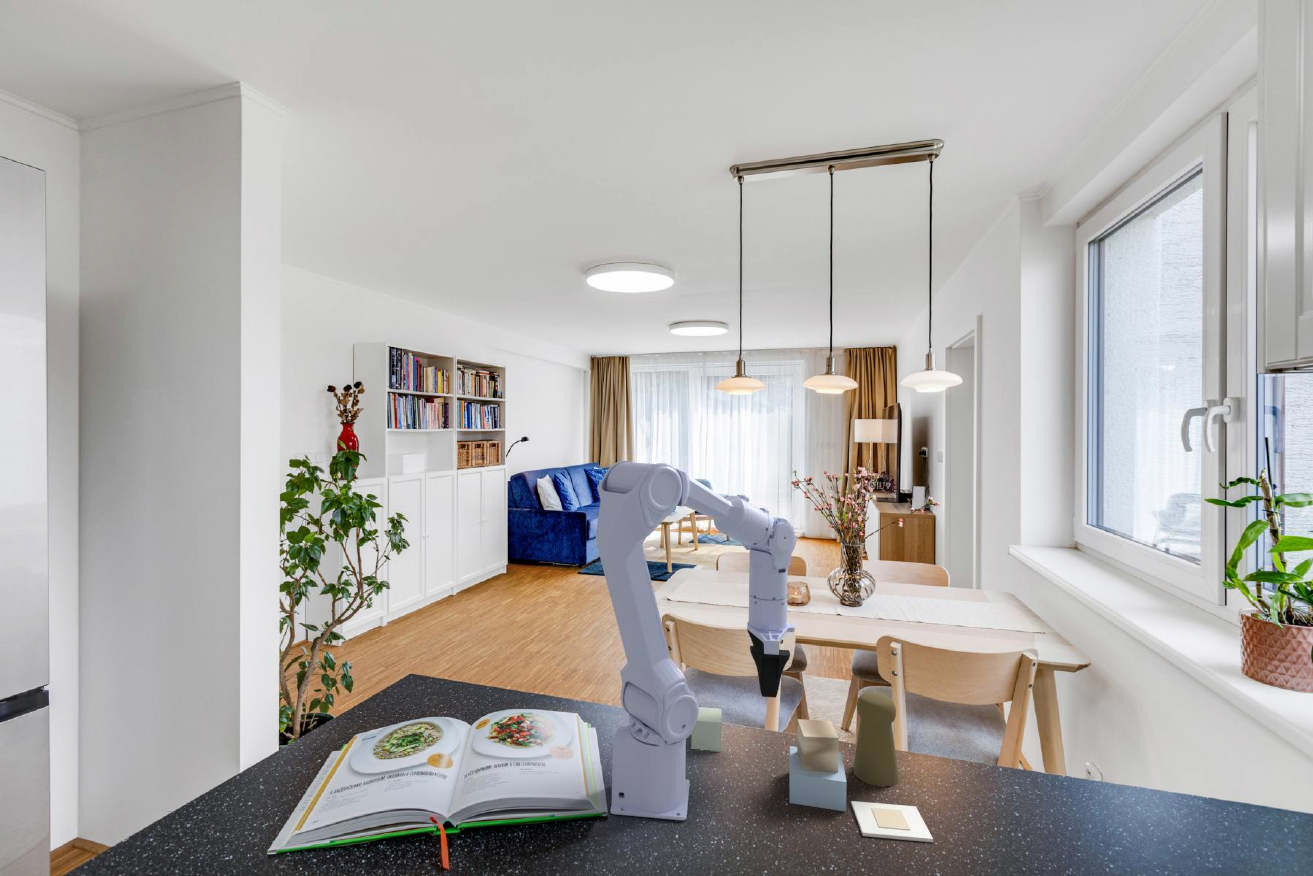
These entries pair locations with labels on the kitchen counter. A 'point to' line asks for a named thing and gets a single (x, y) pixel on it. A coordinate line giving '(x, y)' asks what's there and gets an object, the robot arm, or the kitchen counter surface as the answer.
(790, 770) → the blue base block
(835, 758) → the birch block
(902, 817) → the tile
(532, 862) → the kitchen counter surface
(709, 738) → the sage green block
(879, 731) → the cork
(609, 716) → the kitchen counter surface
